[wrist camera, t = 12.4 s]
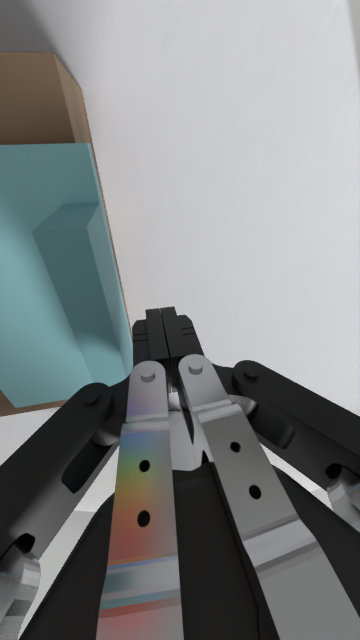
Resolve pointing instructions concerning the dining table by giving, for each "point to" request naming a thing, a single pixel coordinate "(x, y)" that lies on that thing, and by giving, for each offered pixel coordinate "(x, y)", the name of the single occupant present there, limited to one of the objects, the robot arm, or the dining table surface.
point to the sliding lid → (57, 277)
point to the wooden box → (41, 127)
